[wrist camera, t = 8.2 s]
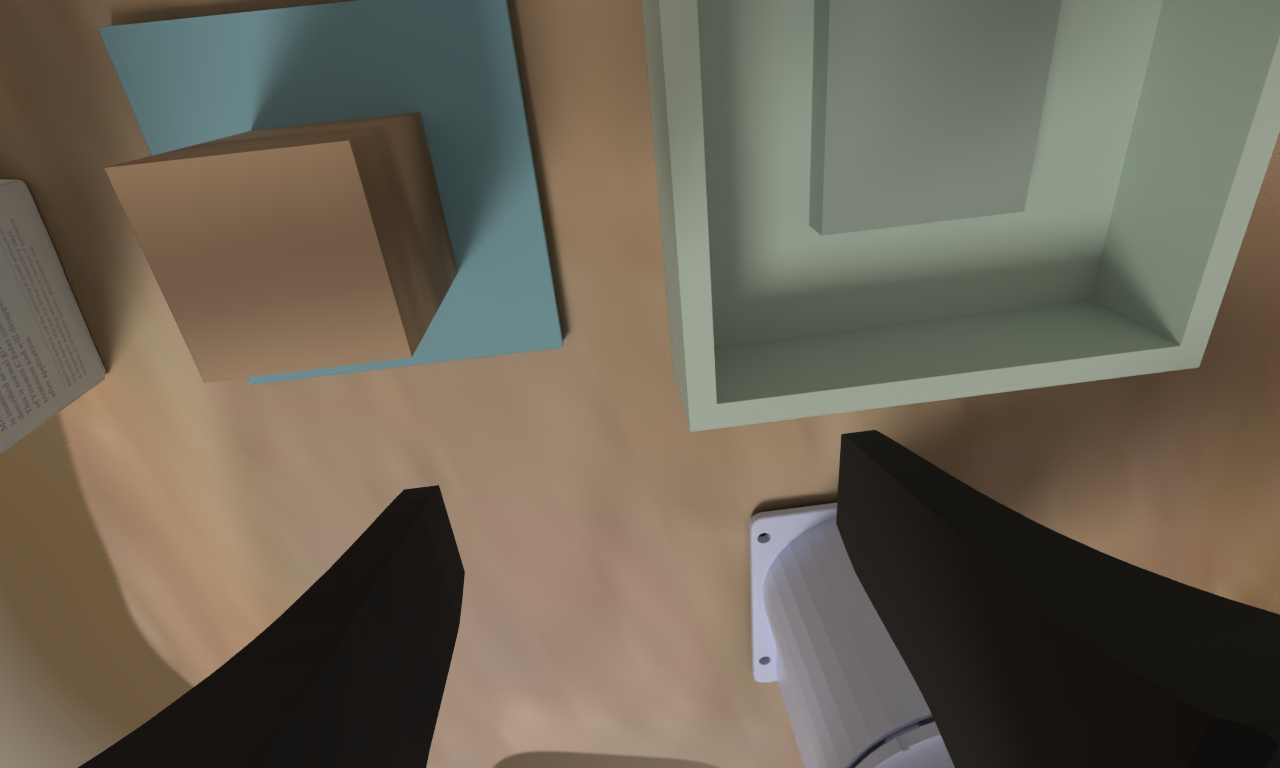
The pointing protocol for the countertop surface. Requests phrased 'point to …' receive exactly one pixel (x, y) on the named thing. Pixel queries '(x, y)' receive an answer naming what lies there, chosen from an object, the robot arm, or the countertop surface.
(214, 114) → the teal mat
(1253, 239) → the countertop surface
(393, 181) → the walnut block
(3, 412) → the small box
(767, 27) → the crate
